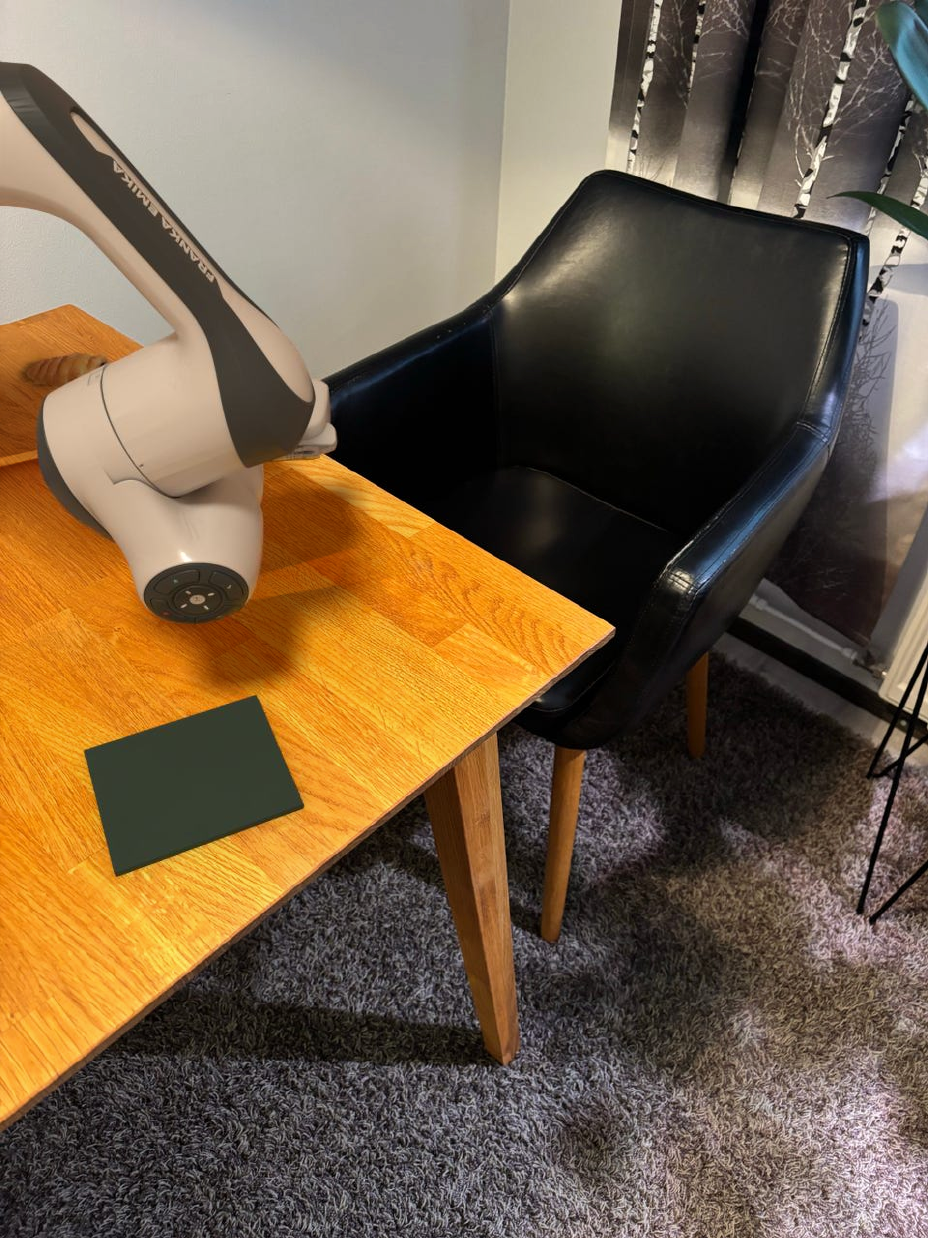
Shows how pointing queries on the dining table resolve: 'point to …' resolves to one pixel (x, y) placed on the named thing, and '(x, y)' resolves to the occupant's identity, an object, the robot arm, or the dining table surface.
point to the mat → (189, 783)
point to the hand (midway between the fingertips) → (213, 370)
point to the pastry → (65, 368)
